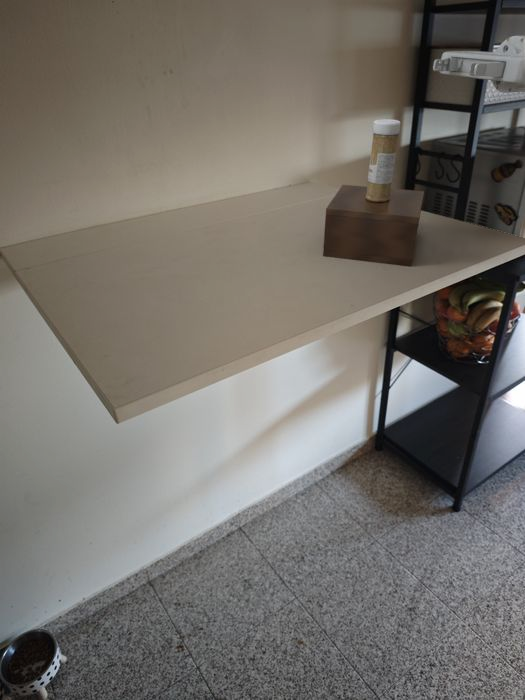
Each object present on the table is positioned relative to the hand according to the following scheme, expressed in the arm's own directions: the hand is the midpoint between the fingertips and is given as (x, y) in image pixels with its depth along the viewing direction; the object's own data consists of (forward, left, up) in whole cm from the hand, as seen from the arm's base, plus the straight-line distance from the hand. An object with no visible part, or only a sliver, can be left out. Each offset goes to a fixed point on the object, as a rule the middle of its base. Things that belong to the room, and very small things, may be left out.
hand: (453, 67), depth 85 cm
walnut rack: (+9, +8, -30) cm, 32 cm away
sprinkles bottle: (+9, +8, -21) cm, 24 cm away
